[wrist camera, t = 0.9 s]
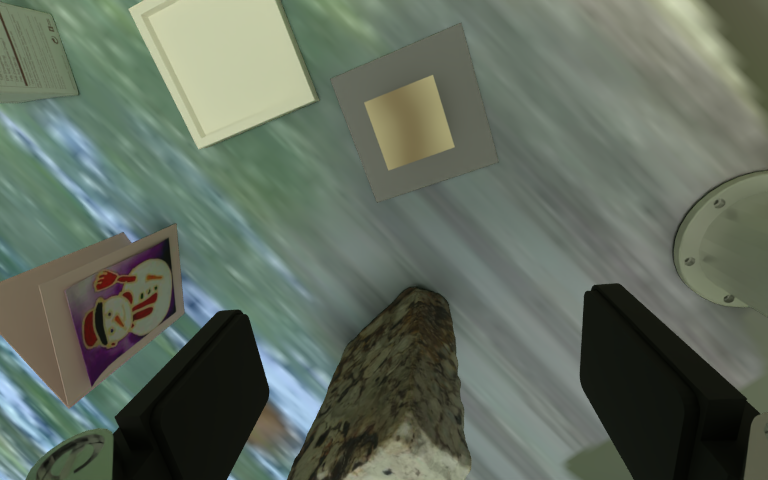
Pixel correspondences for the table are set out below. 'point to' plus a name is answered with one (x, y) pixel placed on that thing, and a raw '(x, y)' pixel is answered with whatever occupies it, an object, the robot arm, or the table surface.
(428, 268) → the table surface
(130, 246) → the greeting card
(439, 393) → the stone block
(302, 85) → the cream tray
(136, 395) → the robot arm
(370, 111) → the beech block
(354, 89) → the tile
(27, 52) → the supplement box
